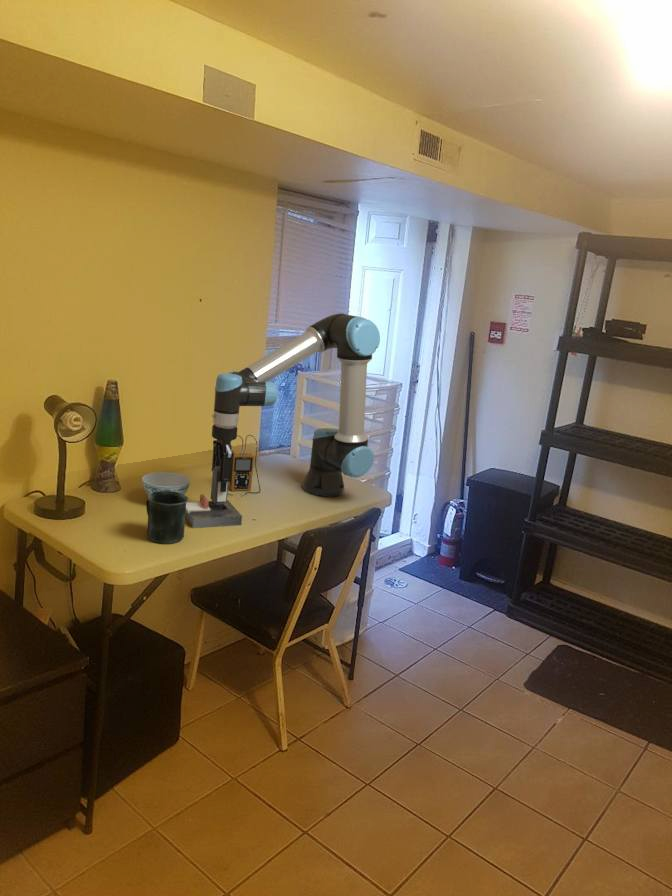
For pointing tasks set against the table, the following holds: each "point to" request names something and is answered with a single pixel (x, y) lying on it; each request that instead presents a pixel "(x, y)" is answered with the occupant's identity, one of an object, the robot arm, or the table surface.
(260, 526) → the table surface
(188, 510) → the shutter
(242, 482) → the multimeter
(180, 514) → the mug
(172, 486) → the chinaware
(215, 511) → the socket plate
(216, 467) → the gray rectangular block
